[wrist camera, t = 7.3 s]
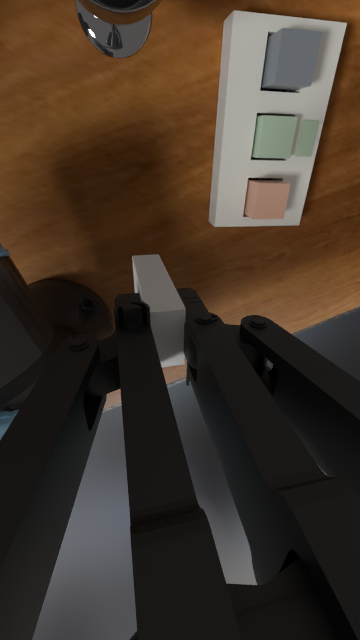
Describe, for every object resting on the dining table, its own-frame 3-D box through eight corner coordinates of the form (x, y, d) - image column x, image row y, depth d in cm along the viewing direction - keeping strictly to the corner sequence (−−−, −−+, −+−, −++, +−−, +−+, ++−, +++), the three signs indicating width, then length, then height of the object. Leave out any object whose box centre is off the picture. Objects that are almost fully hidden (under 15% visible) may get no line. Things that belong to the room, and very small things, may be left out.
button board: (288, 220, 42) (299, 225, 40) (208, 221, 40) (215, 227, 38) (328, 31, 32) (348, 22, 29) (224, 20, 30) (234, 9, 27)
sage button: (277, 157, 37) (289, 158, 34) (247, 156, 36) (257, 157, 33) (284, 118, 35) (298, 116, 32) (252, 116, 34) (263, 115, 31)
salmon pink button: (272, 213, 39) (283, 218, 36) (243, 213, 38) (253, 219, 36) (278, 180, 37) (290, 183, 34) (248, 179, 36) (258, 183, 34)
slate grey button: (294, 90, 32) (311, 86, 30) (260, 88, 32) (274, 83, 29) (304, 41, 30) (322, 31, 27) (267, 37, 29) (282, 27, 27)
